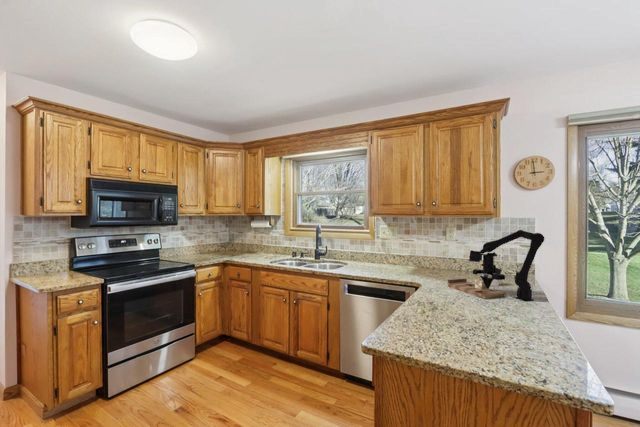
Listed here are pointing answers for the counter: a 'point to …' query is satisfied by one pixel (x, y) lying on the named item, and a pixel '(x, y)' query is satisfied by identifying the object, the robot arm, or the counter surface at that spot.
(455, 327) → the counter surface
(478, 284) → the maple cube
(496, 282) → the medicine bottle
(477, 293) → the trap deck
